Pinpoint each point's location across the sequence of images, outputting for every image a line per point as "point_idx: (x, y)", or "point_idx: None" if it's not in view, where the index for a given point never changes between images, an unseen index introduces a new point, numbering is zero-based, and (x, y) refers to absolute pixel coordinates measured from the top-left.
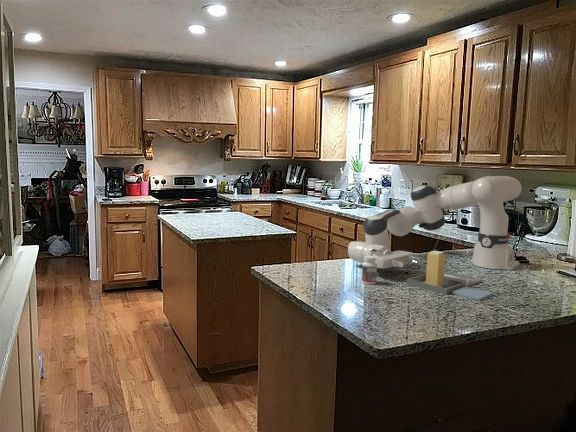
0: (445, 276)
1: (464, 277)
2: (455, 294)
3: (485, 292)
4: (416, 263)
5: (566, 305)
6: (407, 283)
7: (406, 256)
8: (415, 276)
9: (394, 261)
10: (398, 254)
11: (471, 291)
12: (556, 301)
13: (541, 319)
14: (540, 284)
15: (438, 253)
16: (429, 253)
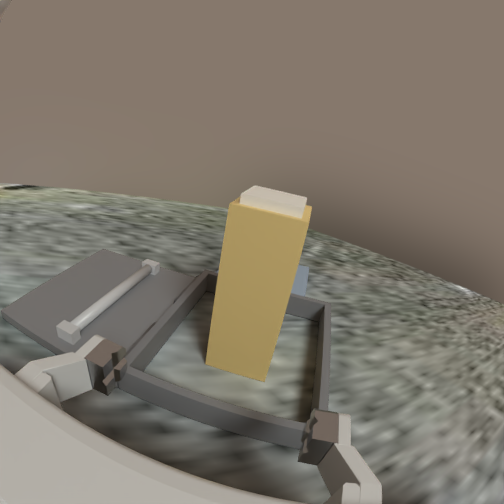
0: (101, 313)
1: (87, 273)
2: None
3: None
4: (120, 371)
5: (222, 209)
6: None
7: (61, 412)
8: (231, 412)
9: (373, 475)
10: (60, 488)
11: None
12: (207, 211)
13: (325, 234)
14: (95, 205)
15: (305, 197)
16: (302, 218)
